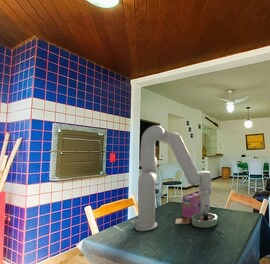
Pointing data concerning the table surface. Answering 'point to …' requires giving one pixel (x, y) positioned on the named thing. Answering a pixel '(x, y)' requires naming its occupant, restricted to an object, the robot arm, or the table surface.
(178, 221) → the coaster
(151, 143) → the robot arm
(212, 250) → the table surface
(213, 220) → the bowl
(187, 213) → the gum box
